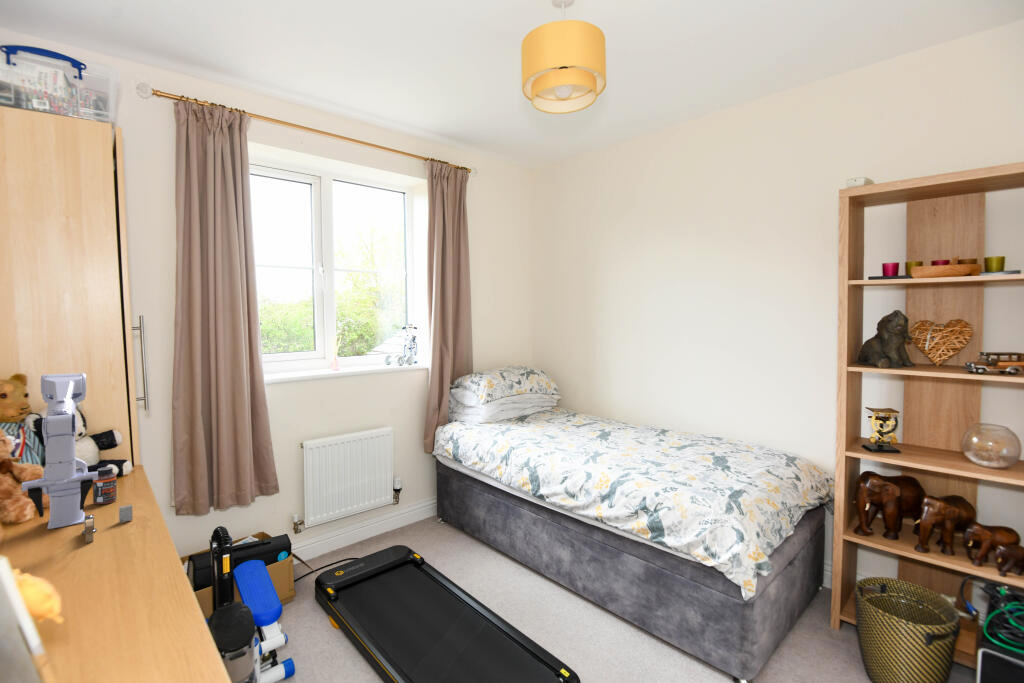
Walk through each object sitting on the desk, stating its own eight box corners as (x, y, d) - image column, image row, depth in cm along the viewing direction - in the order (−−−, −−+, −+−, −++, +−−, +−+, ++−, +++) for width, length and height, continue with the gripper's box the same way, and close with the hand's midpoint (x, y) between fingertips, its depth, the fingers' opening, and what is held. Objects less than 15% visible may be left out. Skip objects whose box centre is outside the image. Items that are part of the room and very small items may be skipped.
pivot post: (81, 531, 137) (81, 515, 137) (96, 528, 140) (96, 513, 139) (81, 535, 135) (81, 519, 135) (97, 532, 137) (96, 516, 137)
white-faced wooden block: (119, 522, 144) (119, 507, 144) (132, 519, 146) (131, 504, 146) (119, 523, 143) (119, 508, 143) (132, 520, 145) (132, 506, 145)
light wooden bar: (85, 533, 136) (85, 518, 136) (92, 532, 137) (92, 516, 137) (85, 542, 130) (85, 526, 130) (93, 541, 131) (92, 525, 131)
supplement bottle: (103, 506, 157) (102, 471, 156) (88, 505, 158) (87, 470, 158) (121, 500, 163) (120, 466, 162) (107, 498, 164) (106, 465, 163)
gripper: (19, 469, 119) (21, 524, 119) (97, 459, 128) (98, 510, 129) (22, 463, 124) (23, 515, 124) (97, 453, 133) (98, 502, 134)
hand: (62, 512), depth 127 cm, fingers open, 7 cm apart
